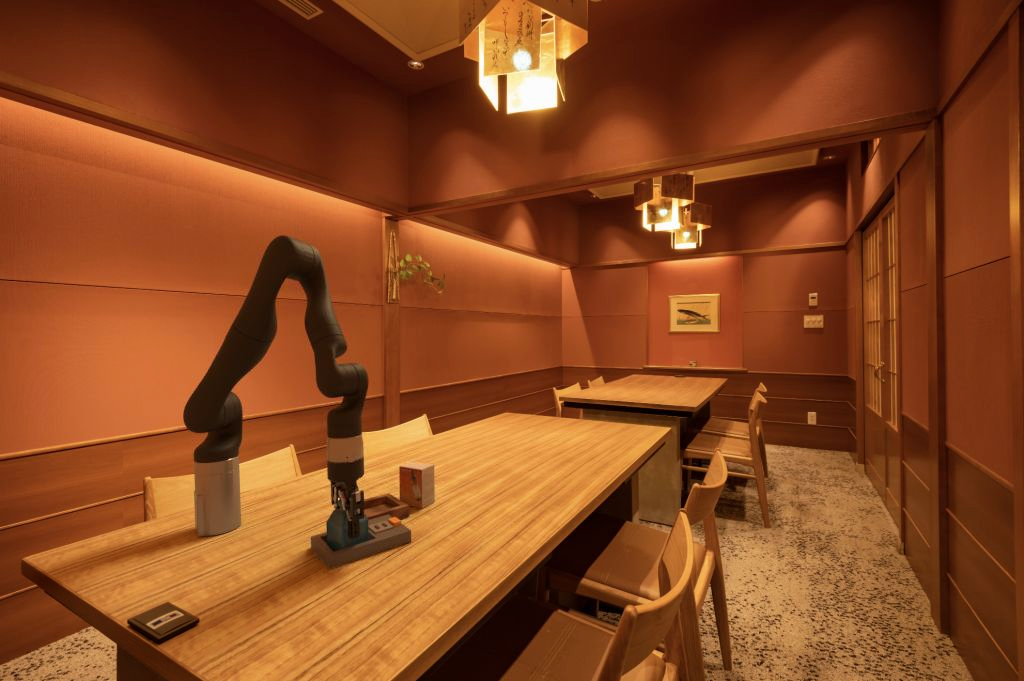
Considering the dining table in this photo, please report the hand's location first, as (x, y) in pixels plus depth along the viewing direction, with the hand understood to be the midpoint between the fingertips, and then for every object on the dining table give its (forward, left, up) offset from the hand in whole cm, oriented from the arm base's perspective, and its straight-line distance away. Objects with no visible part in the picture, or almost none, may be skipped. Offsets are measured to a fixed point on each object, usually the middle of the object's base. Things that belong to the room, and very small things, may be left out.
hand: (347, 531), depth 100 cm
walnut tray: (+12, +13, -4) cm, 18 cm away
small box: (+24, +14, -4) cm, 28 cm away
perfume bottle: (0, 0, -4) cm, 4 cm away
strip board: (+3, 0, -4) cm, 5 cm away
